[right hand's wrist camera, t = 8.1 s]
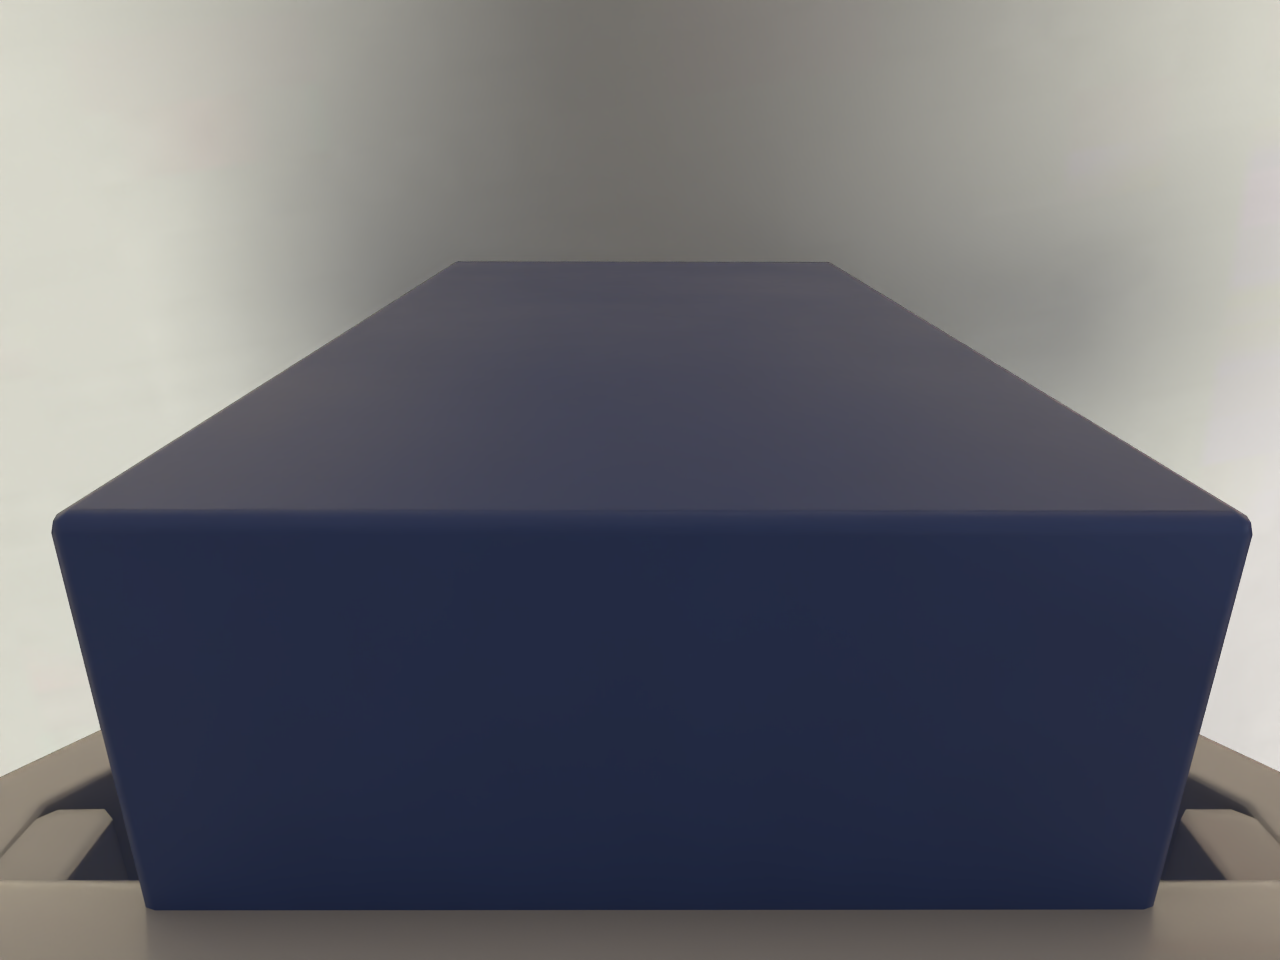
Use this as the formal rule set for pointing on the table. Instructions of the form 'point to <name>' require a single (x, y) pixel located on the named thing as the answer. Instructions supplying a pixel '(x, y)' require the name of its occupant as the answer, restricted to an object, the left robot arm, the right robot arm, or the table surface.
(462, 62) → the table surface
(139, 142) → the table surface
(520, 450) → the bar
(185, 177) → the table surface
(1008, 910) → the right robot arm
